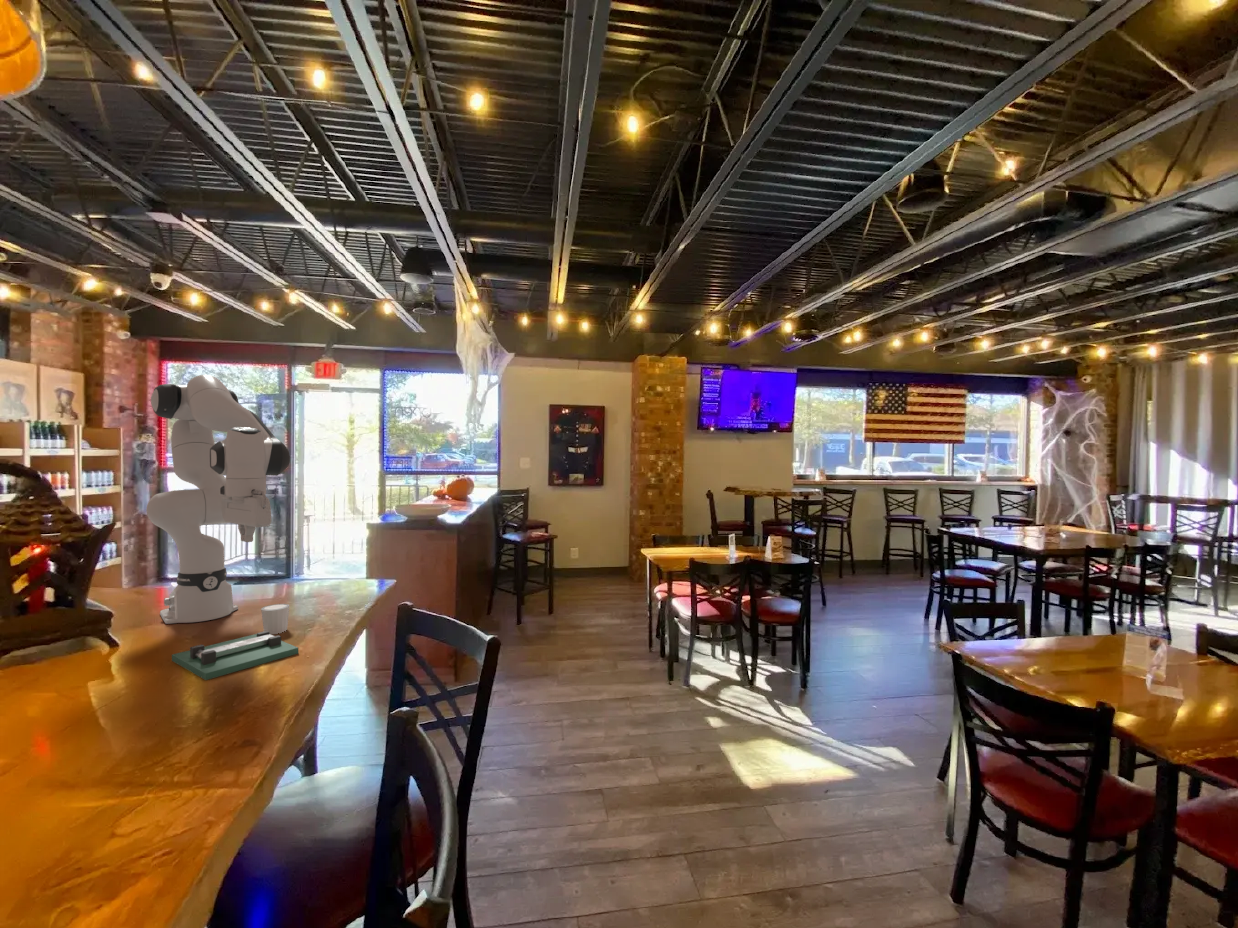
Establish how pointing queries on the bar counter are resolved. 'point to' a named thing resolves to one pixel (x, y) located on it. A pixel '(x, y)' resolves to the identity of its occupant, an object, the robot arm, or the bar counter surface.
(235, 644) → the steel strap
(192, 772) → the bar counter surface
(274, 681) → the bar counter surface
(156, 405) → the robot arm
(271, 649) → the board
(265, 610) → the white cylinder
